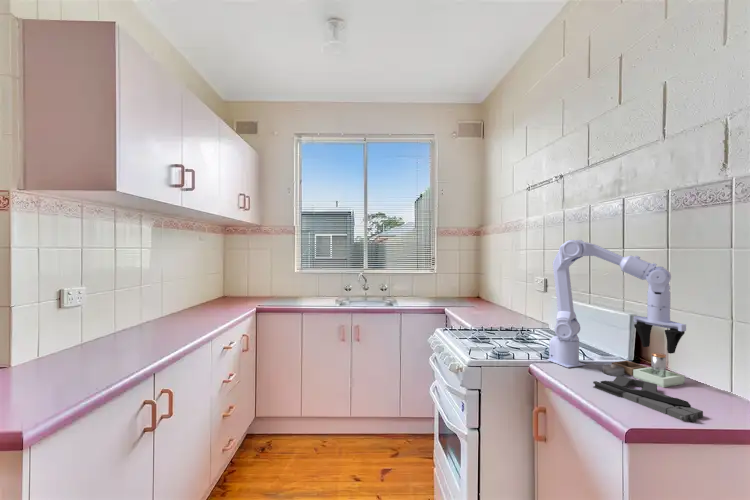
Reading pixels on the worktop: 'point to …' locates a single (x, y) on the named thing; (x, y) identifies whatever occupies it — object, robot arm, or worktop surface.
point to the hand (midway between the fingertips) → (658, 349)
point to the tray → (663, 382)
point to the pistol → (649, 397)
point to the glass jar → (658, 364)
